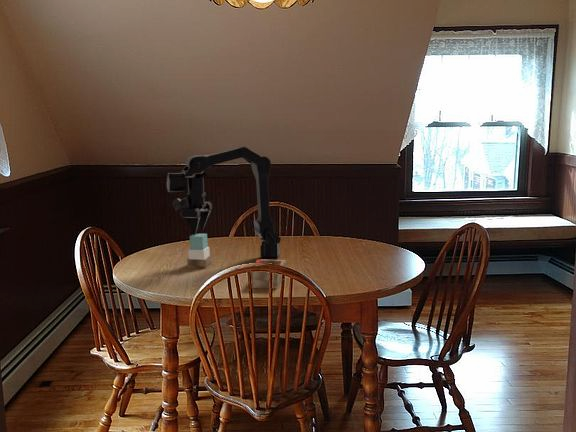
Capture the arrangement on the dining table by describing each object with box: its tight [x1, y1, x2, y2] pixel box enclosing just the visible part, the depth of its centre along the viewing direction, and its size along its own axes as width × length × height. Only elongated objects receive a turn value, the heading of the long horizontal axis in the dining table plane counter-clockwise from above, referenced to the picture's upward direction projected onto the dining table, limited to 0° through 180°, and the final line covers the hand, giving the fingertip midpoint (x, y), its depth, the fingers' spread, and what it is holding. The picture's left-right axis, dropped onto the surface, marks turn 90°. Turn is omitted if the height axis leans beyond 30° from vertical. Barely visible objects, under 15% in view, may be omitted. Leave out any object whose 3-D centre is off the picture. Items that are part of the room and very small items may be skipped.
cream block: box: [188, 246, 211, 260], centre depth 223 cm, size 6×6×4 cm
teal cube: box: [189, 233, 209, 250], centre depth 222 cm, size 5×5×5 cm
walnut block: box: [186, 254, 213, 269], centre depth 224 cm, size 7×7×4 cm
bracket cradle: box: [251, 258, 287, 290], centre depth 202 cm, size 9×16×6 cm, turn 170°
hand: (197, 232), depth 222 cm, fingers open, 9 cm apart
